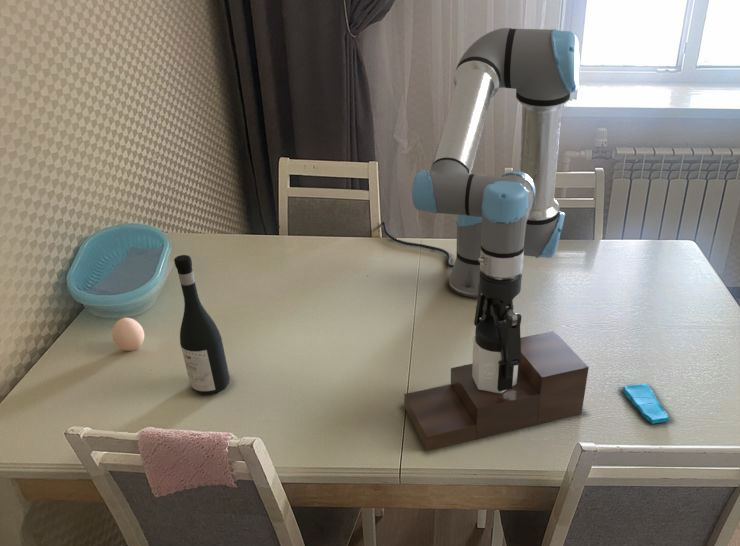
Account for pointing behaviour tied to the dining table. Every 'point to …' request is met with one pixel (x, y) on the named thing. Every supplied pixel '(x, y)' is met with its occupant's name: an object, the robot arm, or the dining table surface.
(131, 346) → the egg
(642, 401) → the sponge
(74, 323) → the dining table surface
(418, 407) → the step shelf
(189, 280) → the wine bottle
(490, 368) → the jar
